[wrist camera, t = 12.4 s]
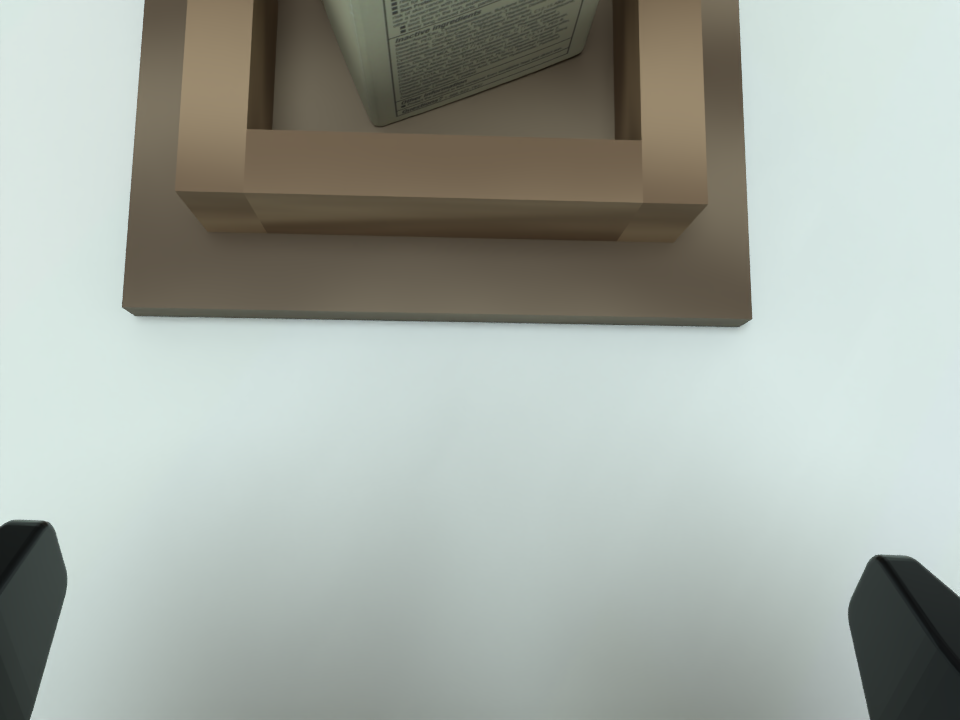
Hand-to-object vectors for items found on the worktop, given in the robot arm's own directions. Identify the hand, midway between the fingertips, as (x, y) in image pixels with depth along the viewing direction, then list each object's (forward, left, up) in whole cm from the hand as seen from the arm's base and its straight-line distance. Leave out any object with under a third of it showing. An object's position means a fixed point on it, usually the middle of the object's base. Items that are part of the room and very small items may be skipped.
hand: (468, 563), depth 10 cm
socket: (+11, -8, -13) cm, 19 cm away
